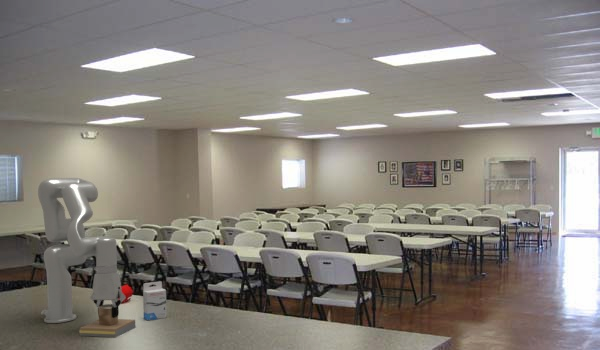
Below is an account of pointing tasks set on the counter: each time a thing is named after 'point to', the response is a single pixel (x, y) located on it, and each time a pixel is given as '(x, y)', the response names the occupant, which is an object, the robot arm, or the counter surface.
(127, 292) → the red animal figurine
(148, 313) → the ink box
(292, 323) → the counter surface
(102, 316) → the brown wooden block
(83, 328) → the dock
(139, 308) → the counter surface
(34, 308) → the counter surface
